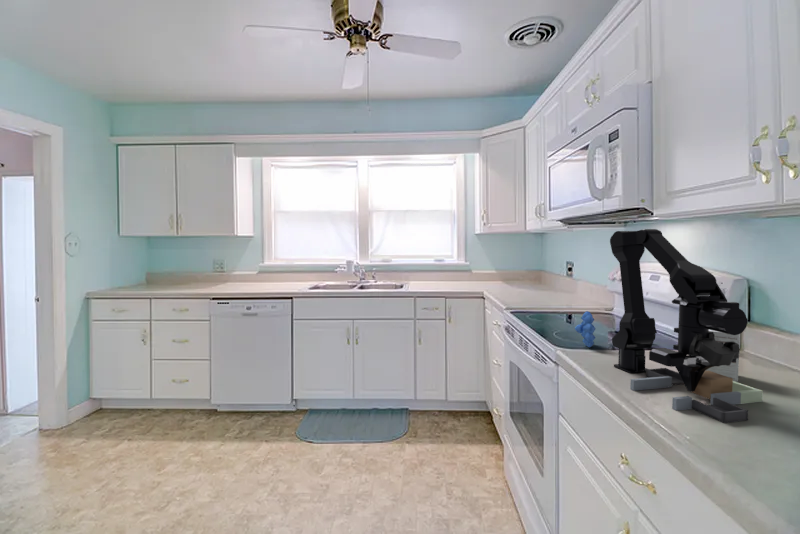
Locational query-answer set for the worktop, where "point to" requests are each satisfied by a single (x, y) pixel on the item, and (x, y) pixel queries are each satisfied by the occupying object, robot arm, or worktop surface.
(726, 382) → the walnut block
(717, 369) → the supplement box
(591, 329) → the grapes
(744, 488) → the worktop surface
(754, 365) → the worktop surface
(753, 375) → the worktop surface
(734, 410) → the box
